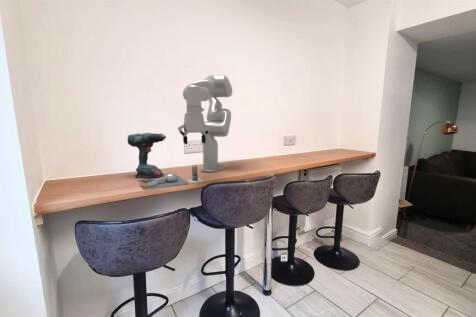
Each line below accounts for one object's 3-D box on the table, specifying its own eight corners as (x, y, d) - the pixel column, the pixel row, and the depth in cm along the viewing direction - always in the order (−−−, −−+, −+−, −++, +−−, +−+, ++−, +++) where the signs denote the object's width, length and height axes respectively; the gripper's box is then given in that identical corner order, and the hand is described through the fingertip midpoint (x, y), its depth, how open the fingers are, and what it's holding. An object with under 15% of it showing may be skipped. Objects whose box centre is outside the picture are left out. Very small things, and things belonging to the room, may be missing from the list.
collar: (172, 178, 132) (172, 172, 131) (179, 180, 127) (179, 174, 127) (139, 184, 119) (138, 177, 118) (145, 187, 114) (145, 180, 113)
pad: (199, 178, 134) (199, 178, 133) (203, 181, 128) (203, 181, 128) (186, 180, 130) (186, 179, 130) (191, 183, 124) (191, 182, 124)
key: (195, 179, 131) (195, 164, 130) (198, 180, 129) (198, 165, 128) (191, 180, 129) (190, 165, 128) (194, 181, 127) (193, 166, 126)
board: (178, 176, 139) (178, 175, 139) (188, 184, 123) (188, 183, 123) (137, 180, 128) (137, 180, 128) (143, 189, 112) (143, 189, 112)
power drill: (165, 178, 131) (162, 133, 127) (127, 177, 135) (123, 133, 131) (172, 175, 139) (170, 132, 135) (137, 173, 144) (133, 132, 140)
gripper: (206, 110, 130) (207, 142, 133) (175, 110, 122) (176, 143, 125) (212, 110, 124) (212, 143, 127) (179, 109, 115) (180, 145, 118)
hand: (194, 143), depth 126 cm, fingers open, 9 cm apart
